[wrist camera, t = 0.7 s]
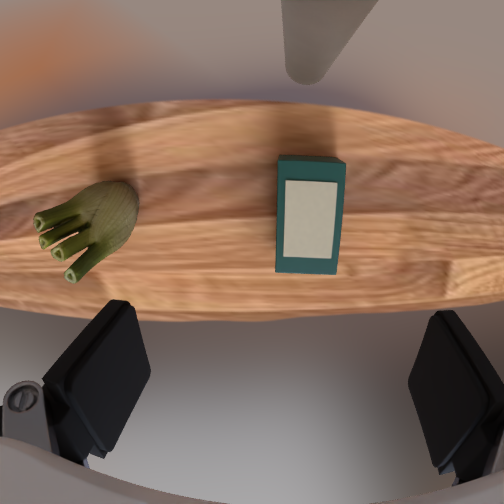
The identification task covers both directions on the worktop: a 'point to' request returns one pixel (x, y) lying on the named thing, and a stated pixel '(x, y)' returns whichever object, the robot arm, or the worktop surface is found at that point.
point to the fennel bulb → (89, 225)
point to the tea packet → (309, 214)
